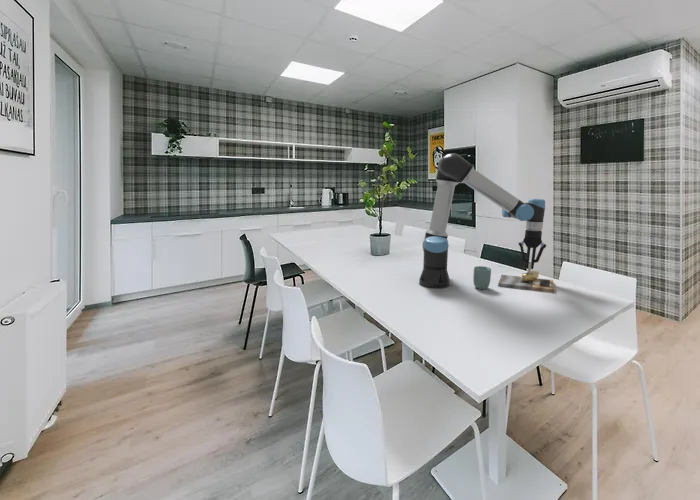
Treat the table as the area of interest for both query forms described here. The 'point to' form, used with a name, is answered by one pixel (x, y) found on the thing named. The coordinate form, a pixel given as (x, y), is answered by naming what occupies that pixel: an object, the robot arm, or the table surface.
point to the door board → (527, 283)
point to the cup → (482, 277)
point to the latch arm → (530, 276)
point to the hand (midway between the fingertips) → (528, 274)
